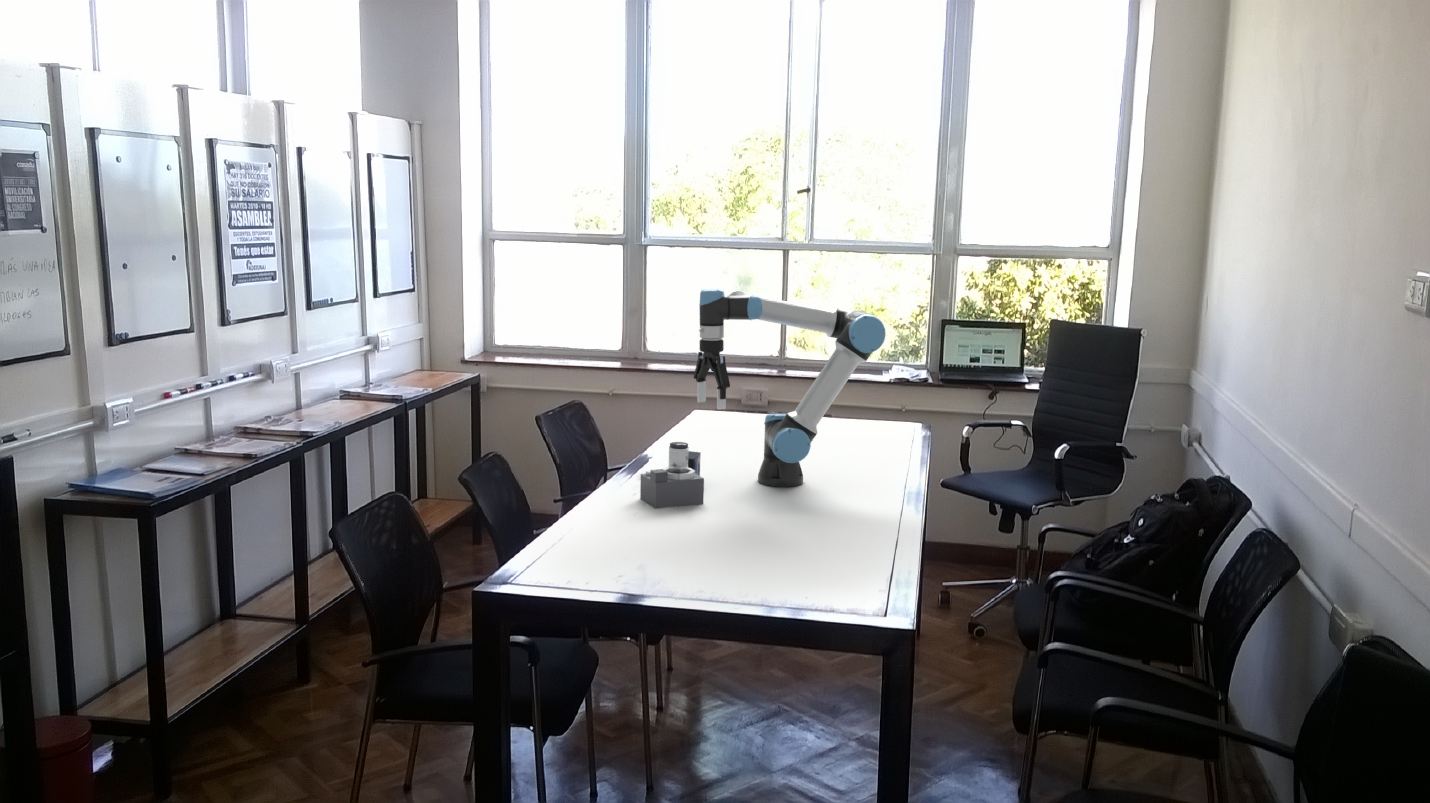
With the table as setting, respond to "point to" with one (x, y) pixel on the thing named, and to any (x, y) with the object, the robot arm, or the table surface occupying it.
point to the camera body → (671, 488)
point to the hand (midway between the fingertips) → (711, 405)
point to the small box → (694, 461)
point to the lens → (678, 457)
